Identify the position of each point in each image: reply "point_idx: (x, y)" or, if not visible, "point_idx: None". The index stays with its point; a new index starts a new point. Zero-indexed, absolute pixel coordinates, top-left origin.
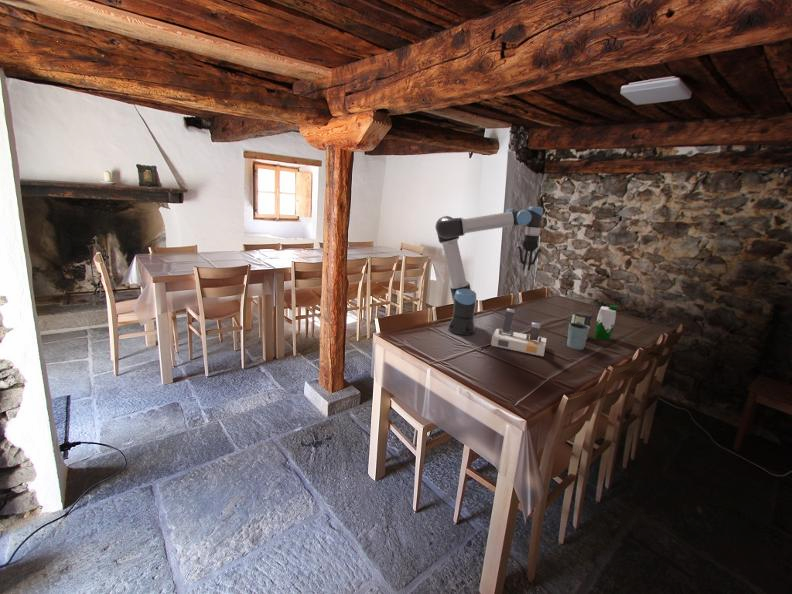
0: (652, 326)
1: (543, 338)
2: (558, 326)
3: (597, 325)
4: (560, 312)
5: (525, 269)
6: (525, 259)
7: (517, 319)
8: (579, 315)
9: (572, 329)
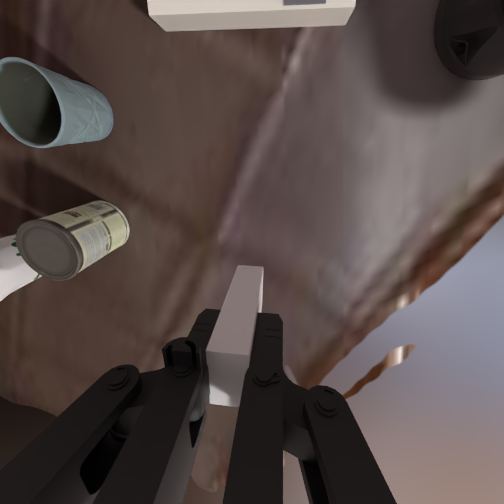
0: (4, 378)
1: (157, 2)
2: (164, 280)
3: None
4: None
5: (247, 306)
6: (252, 469)
7: (276, 284)
8: (50, 222)
9: (49, 72)
